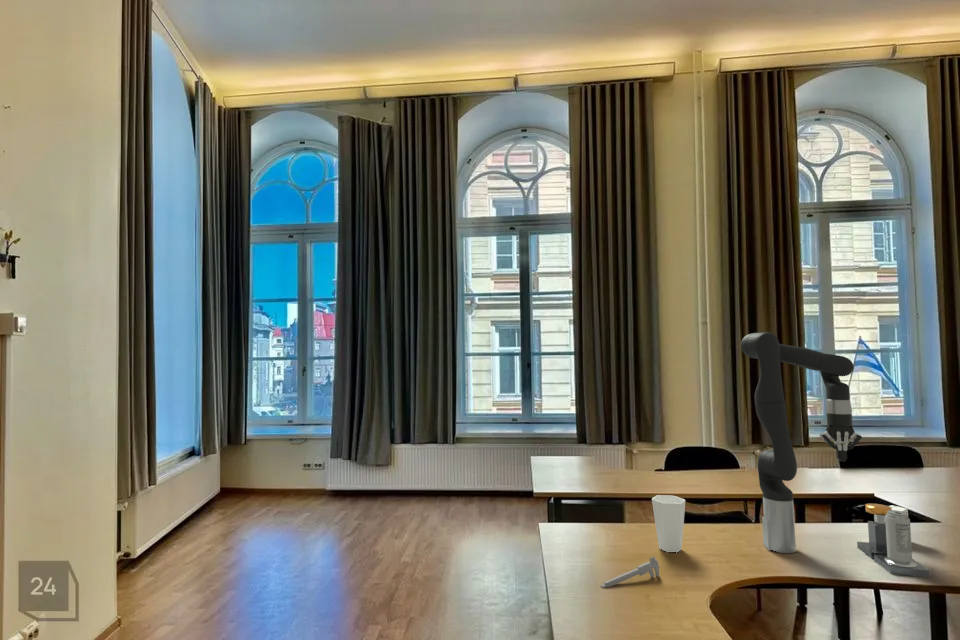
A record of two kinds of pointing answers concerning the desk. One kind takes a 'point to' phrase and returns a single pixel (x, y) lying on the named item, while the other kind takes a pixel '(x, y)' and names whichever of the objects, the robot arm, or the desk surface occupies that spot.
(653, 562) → the caliper
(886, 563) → the plate
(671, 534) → the cup
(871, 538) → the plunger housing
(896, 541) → the energy drink can
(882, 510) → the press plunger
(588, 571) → the desk surface
